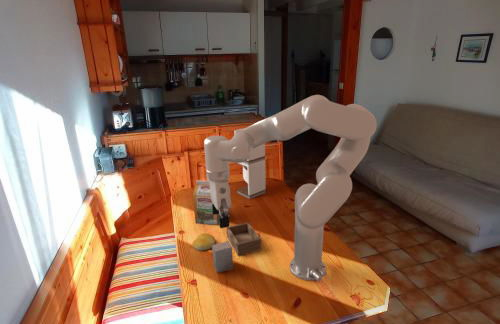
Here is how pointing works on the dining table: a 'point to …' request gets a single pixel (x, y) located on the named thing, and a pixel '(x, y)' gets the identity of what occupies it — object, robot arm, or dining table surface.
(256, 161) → the light grey boxy piece
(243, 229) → the open box
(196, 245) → the bread roll
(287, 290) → the dining table surface
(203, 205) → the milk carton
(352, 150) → the robot arm
